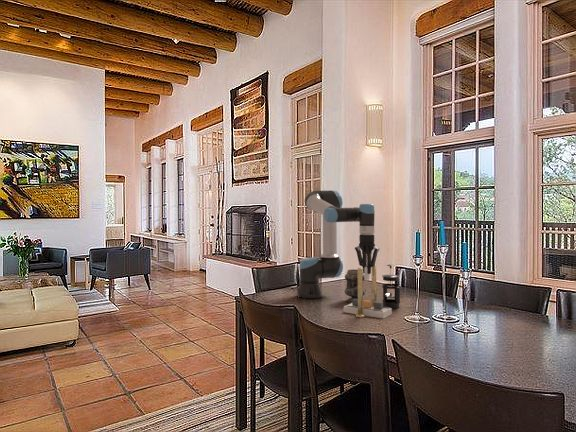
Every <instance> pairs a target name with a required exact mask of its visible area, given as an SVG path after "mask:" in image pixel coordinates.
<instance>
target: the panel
mask: <svg viewBox="0 0 576 432" xmlns="http://www.w3.org/2000/svg"><path fill="white" fill-rule="evenodd" d="M392 311H393V309H392V308H389V307H383V309H375V308H374V305H372V307H371V308H368V307H363V314H365V317H372V318H378V319H386V318H387V317H389V316H391V315H392V314H393V312H392ZM343 313H348V314H353V315H356V314H358V306H355V305H352V303H349V304H346V305H344V306H343Z"/></svg>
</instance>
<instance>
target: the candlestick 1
mask: <svg viewBox="0 0 576 432" xmlns="http://www.w3.org/2000/svg"><path fill="white" fill-rule="evenodd" d="M357 270H358V314H355V317H356V318H359V319H360V318H361V319H363V318H365V317H366V316H365V314H363V300H364V299H363V296H364V295H363V288H364V280H363V279H362V272H363V267H357Z"/></svg>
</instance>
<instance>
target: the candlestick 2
mask: <svg viewBox="0 0 576 432" xmlns="http://www.w3.org/2000/svg"><path fill="white" fill-rule="evenodd" d="M371 301H372V305H374V302H377V264H376V263H375V266H373V267H371Z"/></svg>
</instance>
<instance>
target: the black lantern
mask: <svg viewBox="0 0 576 432" xmlns="http://www.w3.org/2000/svg"><path fill="white" fill-rule="evenodd" d="M386 266H387V267H389V270H390V271H389V272H390V273H389V274H383V275H382V276H381V277H382V280H383V281H384V282H385V281H386V282H390V283H382V286H381V287H382V290H383V291H382V292H383V293H382V297H383V298H382V301H381V302H383V307H389V308H392V310H397V309H400V307H401V306H400V304H401V301H400V300H401V299H400V297H401V296H400V293H401V288H400V284H397V283H392V282H398V281H399V277H400V275H398V274H392V269H393V268H392V267H395V266H396V265H395V264H386ZM388 290H389V291H390V293H388ZM392 290H394V293H392Z"/></svg>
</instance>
